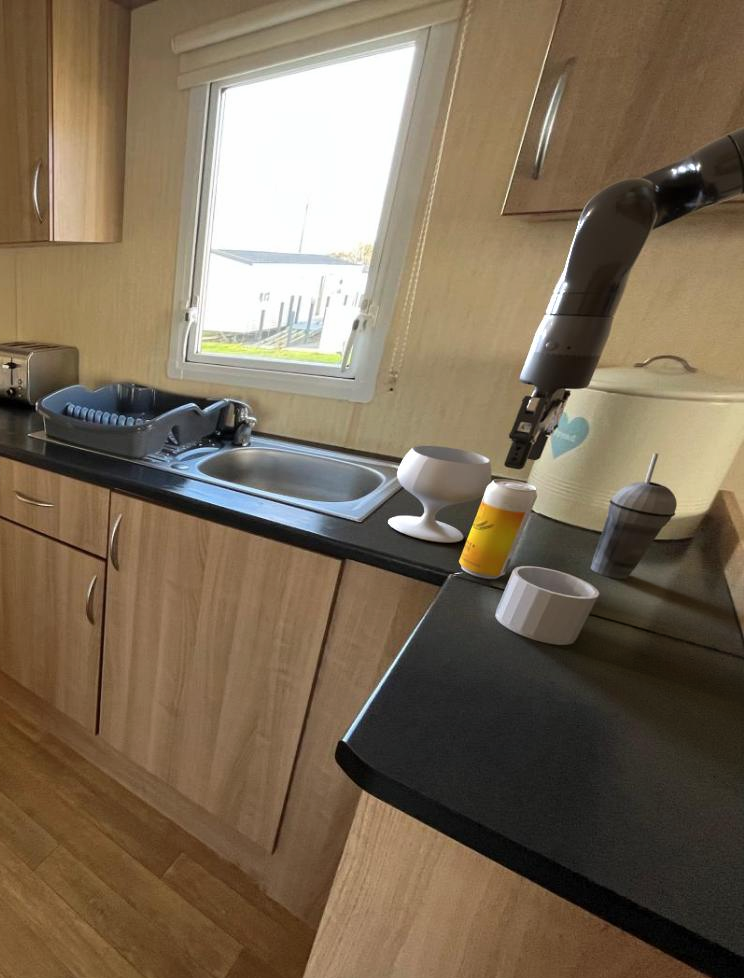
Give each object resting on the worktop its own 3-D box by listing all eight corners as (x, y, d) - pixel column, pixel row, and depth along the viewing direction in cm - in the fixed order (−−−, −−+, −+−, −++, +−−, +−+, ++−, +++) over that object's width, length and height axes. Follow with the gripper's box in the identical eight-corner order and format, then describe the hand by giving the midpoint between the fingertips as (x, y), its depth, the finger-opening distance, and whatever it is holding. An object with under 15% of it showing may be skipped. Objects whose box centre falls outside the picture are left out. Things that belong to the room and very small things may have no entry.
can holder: (582, 630, 74) (605, 585, 71) (567, 653, 69) (591, 605, 66) (505, 602, 80) (523, 560, 77) (486, 622, 75) (505, 577, 73)
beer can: (461, 559, 93) (493, 475, 87) (506, 572, 89) (542, 485, 83) (453, 570, 89) (486, 483, 83) (499, 584, 85) (537, 494, 79)
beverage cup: (637, 588, 86) (703, 465, 78) (576, 570, 91) (631, 453, 83) (641, 574, 90) (703, 456, 82) (582, 558, 95) (635, 446, 87)
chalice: (431, 550, 96) (460, 468, 90) (365, 520, 108) (386, 446, 102) (487, 541, 100) (518, 463, 94) (417, 513, 112) (441, 442, 106)
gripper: (589, 355, 69) (540, 478, 75) (612, 350, 77) (565, 461, 83) (516, 350, 74) (476, 465, 81) (544, 345, 82) (505, 450, 89)
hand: (521, 463), depth 82 cm, fingers open, 8 cm apart
